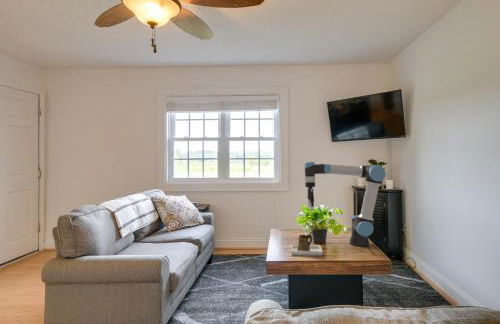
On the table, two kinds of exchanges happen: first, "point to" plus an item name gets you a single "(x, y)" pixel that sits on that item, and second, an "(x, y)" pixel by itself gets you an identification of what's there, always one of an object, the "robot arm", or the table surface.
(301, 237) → the wooden mug
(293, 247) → the tray
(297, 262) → the table surface
